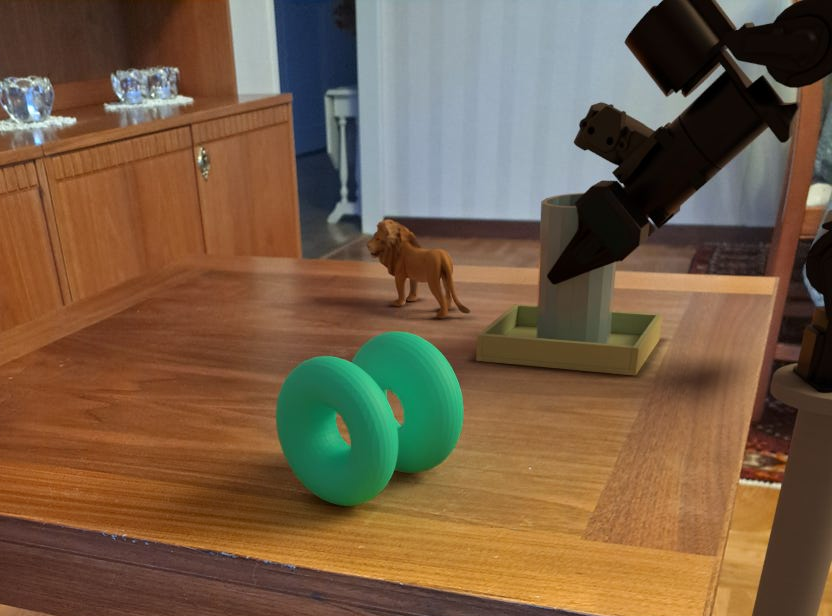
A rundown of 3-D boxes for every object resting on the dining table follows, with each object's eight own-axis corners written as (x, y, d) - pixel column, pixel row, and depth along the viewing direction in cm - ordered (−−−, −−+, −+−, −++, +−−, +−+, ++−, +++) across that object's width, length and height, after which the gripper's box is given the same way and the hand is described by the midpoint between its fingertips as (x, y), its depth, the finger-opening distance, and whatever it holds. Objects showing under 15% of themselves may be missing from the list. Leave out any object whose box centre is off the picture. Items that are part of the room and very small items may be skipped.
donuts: (470, 480, 68) (474, 339, 62) (378, 529, 61) (374, 378, 56) (366, 448, 73) (361, 317, 68) (273, 490, 67) (260, 350, 62)
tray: (659, 339, 95) (663, 314, 93) (635, 375, 85) (639, 348, 84) (513, 328, 100) (514, 303, 99) (476, 360, 91) (476, 334, 90)
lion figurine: (361, 302, 112) (359, 221, 107) (393, 294, 115) (392, 214, 110) (454, 323, 103) (456, 234, 98) (486, 313, 106) (489, 227, 101)
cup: (623, 341, 92) (636, 196, 85) (578, 359, 89) (588, 210, 81) (566, 328, 97) (574, 190, 89) (521, 345, 93) (525, 203, 86)
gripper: (663, 59, 85) (537, 190, 95) (613, 70, 71) (472, 222, 82) (739, 157, 86) (606, 276, 97) (704, 187, 72) (553, 321, 83)
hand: (561, 271), depth 89 cm, fingers closed on cup, 7 cm apart
